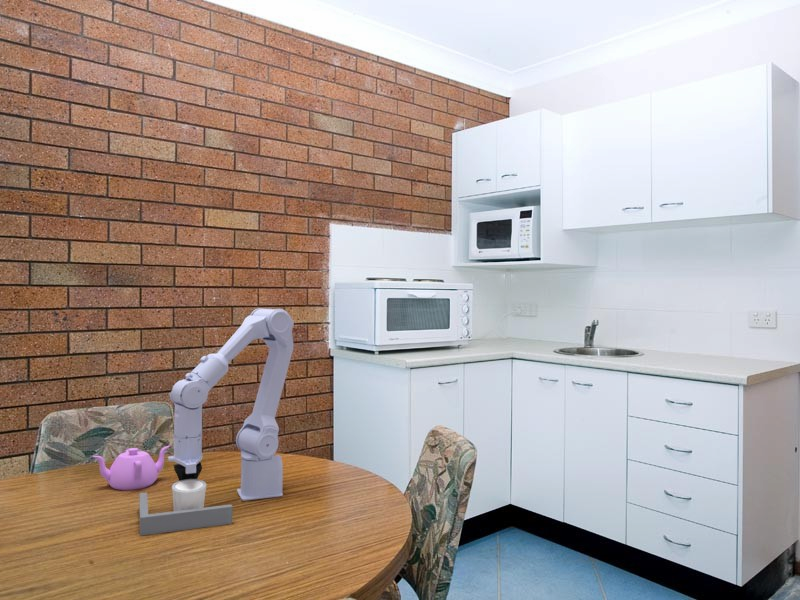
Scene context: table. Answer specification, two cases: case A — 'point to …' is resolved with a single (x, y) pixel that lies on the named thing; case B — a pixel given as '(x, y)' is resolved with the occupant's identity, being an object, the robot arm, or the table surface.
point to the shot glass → (188, 494)
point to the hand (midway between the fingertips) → (187, 497)
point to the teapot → (132, 469)
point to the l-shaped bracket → (181, 518)
